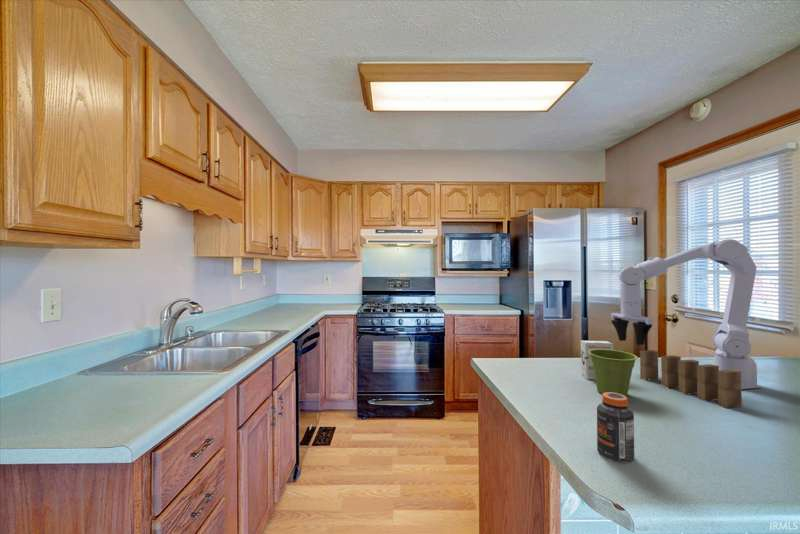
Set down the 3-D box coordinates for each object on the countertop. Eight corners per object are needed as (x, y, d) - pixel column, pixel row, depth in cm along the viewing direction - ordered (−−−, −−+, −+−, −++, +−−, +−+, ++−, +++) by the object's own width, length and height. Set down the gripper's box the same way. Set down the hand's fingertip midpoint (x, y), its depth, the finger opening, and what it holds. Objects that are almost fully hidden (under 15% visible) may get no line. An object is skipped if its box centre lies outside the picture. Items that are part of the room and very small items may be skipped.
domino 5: (733, 403, 87) (732, 369, 87) (741, 406, 85) (741, 371, 86) (718, 405, 86) (717, 370, 86) (726, 408, 84) (726, 372, 84)
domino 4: (711, 396, 92) (711, 364, 92) (719, 399, 90) (718, 365, 90) (697, 398, 91) (697, 365, 91) (704, 400, 89) (704, 367, 89)
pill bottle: (590, 447, 66) (589, 390, 66) (618, 446, 66) (617, 389, 66) (611, 465, 60) (611, 401, 60) (642, 463, 60) (642, 400, 60)
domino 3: (692, 390, 97) (692, 359, 97) (699, 392, 95) (698, 361, 95) (678, 391, 96) (678, 360, 96) (685, 394, 94) (684, 362, 94)
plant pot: (592, 398, 92) (591, 356, 92) (585, 384, 103) (585, 347, 103) (643, 404, 87) (643, 361, 87) (631, 389, 98) (631, 350, 98)
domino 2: (675, 384, 102) (674, 355, 102) (681, 386, 100) (680, 356, 100) (661, 386, 101) (661, 356, 101) (667, 388, 99) (667, 357, 99)
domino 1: (653, 377, 109) (652, 350, 109) (658, 379, 107) (657, 351, 107) (640, 378, 108) (640, 350, 108) (645, 380, 106) (645, 352, 106)
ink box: (608, 376, 111) (608, 340, 111) (615, 380, 106) (614, 343, 106) (580, 374, 112) (580, 339, 112) (586, 379, 107) (585, 342, 108)
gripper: (603, 301, 120) (604, 338, 120) (640, 304, 106) (640, 347, 106) (619, 300, 122) (620, 337, 122) (658, 304, 108) (659, 346, 107)
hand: (631, 342), depth 114 cm, fingers open, 6 cm apart
